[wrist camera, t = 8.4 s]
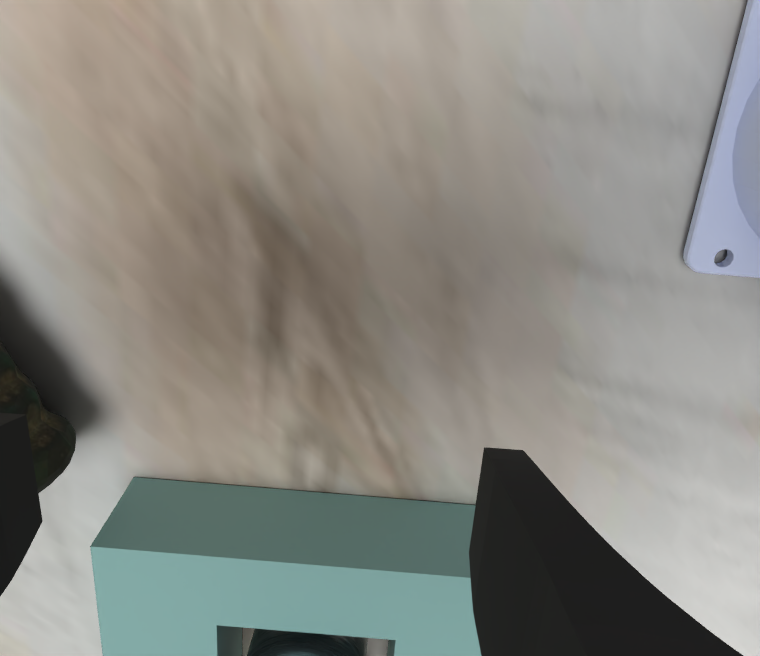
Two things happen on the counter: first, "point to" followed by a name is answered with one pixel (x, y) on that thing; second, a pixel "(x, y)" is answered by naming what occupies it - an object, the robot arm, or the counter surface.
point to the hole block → (280, 570)
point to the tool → (36, 422)
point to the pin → (304, 644)
